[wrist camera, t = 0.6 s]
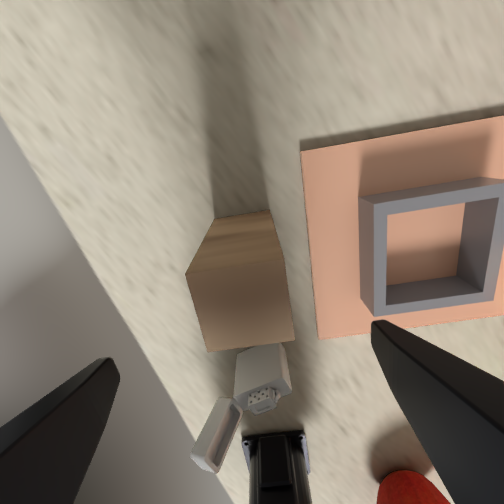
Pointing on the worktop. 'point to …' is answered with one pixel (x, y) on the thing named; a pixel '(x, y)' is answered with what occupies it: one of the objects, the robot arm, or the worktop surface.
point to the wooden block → (241, 284)
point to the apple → (408, 489)
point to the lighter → (243, 401)
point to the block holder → (407, 228)
